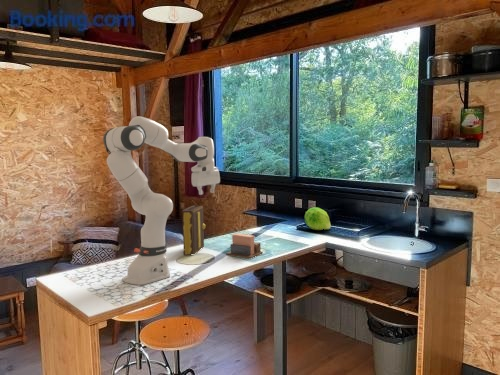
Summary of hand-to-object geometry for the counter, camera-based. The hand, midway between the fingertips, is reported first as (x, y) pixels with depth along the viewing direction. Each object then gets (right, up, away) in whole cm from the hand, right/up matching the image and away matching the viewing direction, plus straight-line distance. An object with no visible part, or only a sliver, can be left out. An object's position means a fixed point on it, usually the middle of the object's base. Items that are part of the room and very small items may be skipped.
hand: (206, 193), depth 219 cm
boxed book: (+19, -33, +9) cm, 39 cm away
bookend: (+18, -33, +7) cm, 38 cm away
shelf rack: (+20, -34, +11) cm, 41 cm away
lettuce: (+71, -27, +72) cm, 105 cm away
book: (-9, -34, +20) cm, 40 cm away
